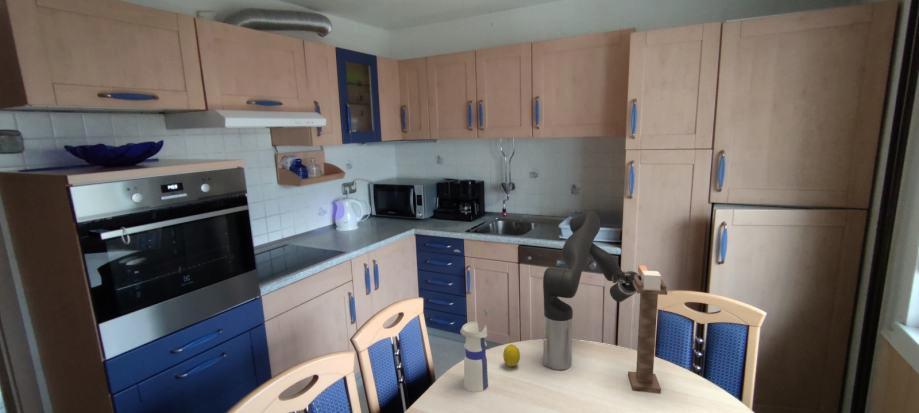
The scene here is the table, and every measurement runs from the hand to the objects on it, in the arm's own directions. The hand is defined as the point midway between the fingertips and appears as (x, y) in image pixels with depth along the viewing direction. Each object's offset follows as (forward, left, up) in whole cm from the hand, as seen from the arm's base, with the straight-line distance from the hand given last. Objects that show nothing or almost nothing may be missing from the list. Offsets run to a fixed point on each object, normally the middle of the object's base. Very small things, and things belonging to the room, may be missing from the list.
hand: (637, 275), depth 144 cm
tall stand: (0, -19, -29) cm, 34 cm away
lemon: (-41, -17, -29) cm, 53 cm away
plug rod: (0, -14, +3) cm, 15 cm away
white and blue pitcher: (-51, -29, -29) cm, 65 cm away
